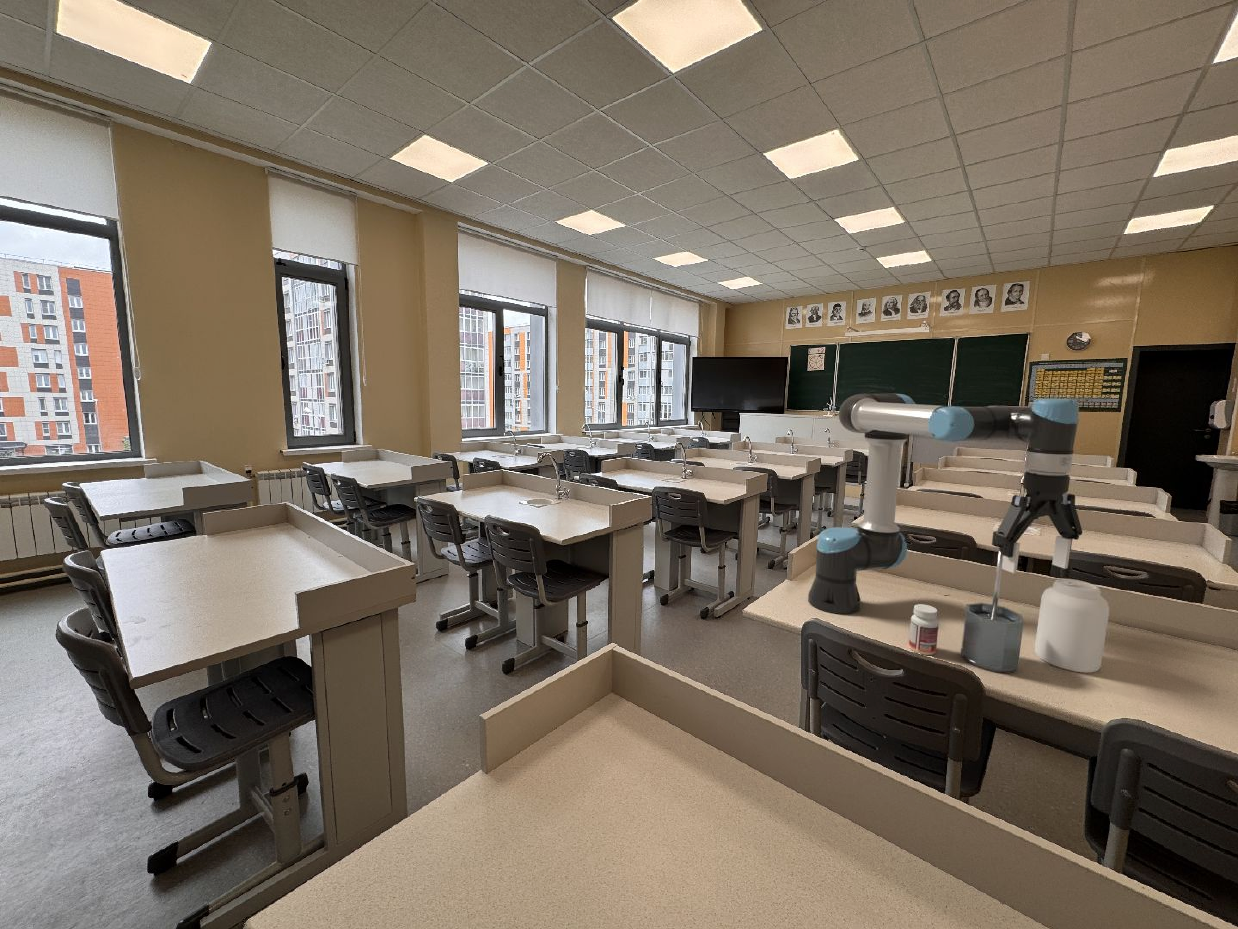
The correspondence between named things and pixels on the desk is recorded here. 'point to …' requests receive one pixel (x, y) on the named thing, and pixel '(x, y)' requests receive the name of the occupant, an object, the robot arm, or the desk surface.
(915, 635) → the pill bottle
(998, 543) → the plunger
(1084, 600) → the can
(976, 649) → the grey octagonal container
